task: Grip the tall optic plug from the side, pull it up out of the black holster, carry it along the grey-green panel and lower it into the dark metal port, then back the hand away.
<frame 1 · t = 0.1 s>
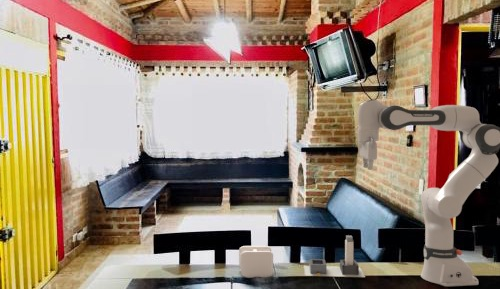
hand: (367, 168, 180), 48 cm above the table, tool pointing down, fingers open, 8 cm apart
panel: (333, 273, 186), on the table
optic plug: (349, 271, 185), point 1 cm above the table, touching panel
cable organizer: (255, 274, 186), on the table
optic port: (317, 270, 186), resting on panel
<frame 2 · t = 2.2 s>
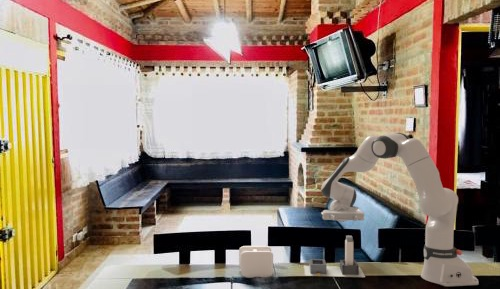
hand: (345, 218, 196), 22 cm above the table, tool horizontal, fingers open, 8 cm apart
nothing on the table moved.
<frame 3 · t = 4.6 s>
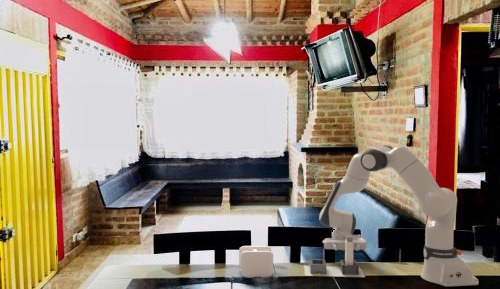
hand: (347, 248, 191), 9 cm above the table, tool horizontal, fingers open, 8 cm apart
nothing on the table moved.
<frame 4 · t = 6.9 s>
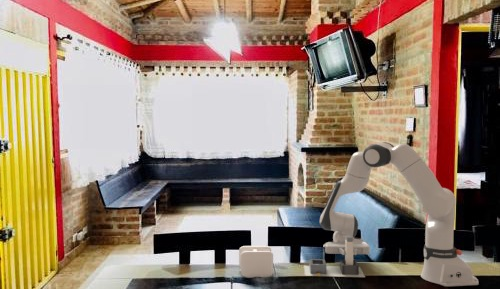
hand: (349, 253, 184), 10 cm above the table, tool horizontal, fingers closed on optic plug, 3 cm apart
optic plug: (349, 271, 185), point 1 cm above the table, touching gripper, panel
everything else where it was.
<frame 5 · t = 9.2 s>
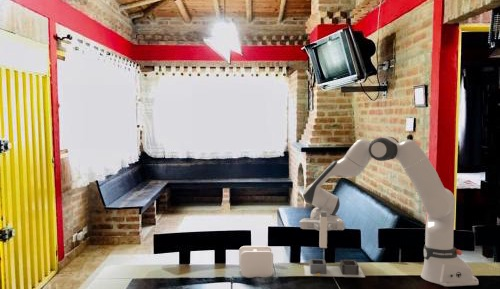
hand: (323, 228, 185), 21 cm above the table, tool horizontal, fingers closed on optic plug, 3 cm apart
optic plug: (322, 246, 186), point 12 cm above the table, touching gripper
everything else where it was.
when the fingers open (10 cm above the table, at t = 12.0 s): optic plug stays where it is, resting on panel.
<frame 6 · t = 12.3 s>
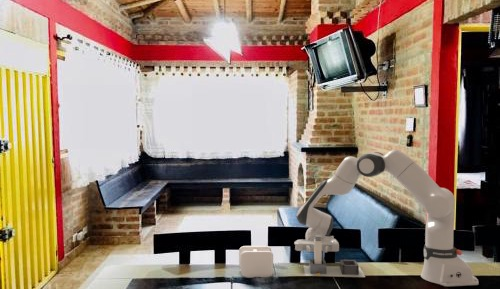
hand: (317, 250, 185), 10 cm above the table, tool horizontal, fingers open, 5 cm apart
optic plug: (317, 270, 186), point 1 cm above the table, touching panel
everything else where it was.
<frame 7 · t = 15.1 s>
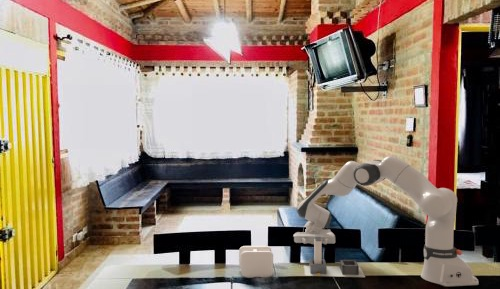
hand: (315, 242, 198), 11 cm above the table, tool horizontal, fingers open, 8 cm apart
nothing on the table moved.
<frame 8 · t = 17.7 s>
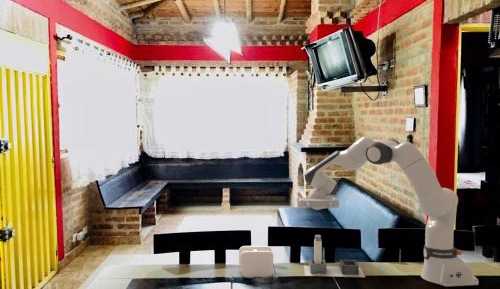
hand: (319, 205, 199), 28 cm above the table, tool horizontal, fingers open, 8 cm apart
nothing on the table moved.
at the end: optic plug 0.0 cm off-centre on the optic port, point 0.0 cm above the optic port's base; optic plug tilted 0°; the gripper is holding nothing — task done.
